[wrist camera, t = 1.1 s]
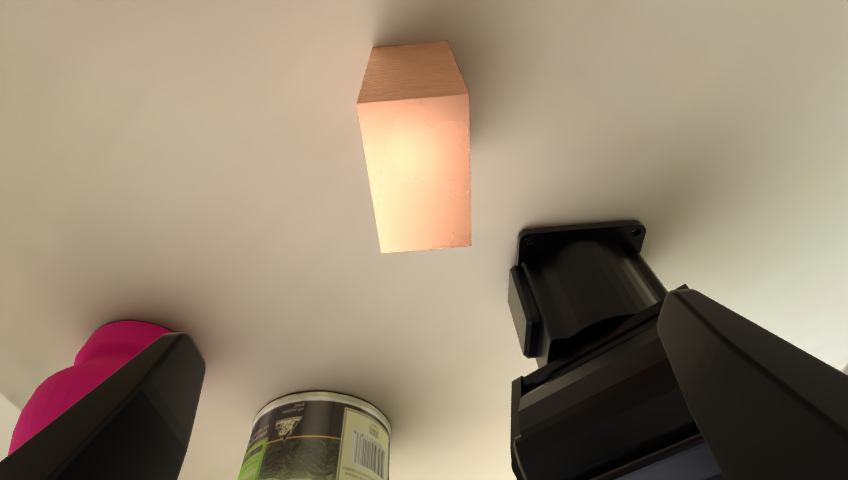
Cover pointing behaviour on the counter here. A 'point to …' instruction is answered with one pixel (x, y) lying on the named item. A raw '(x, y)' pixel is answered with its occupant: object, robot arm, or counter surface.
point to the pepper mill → (84, 374)
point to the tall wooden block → (417, 146)
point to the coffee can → (318, 440)
